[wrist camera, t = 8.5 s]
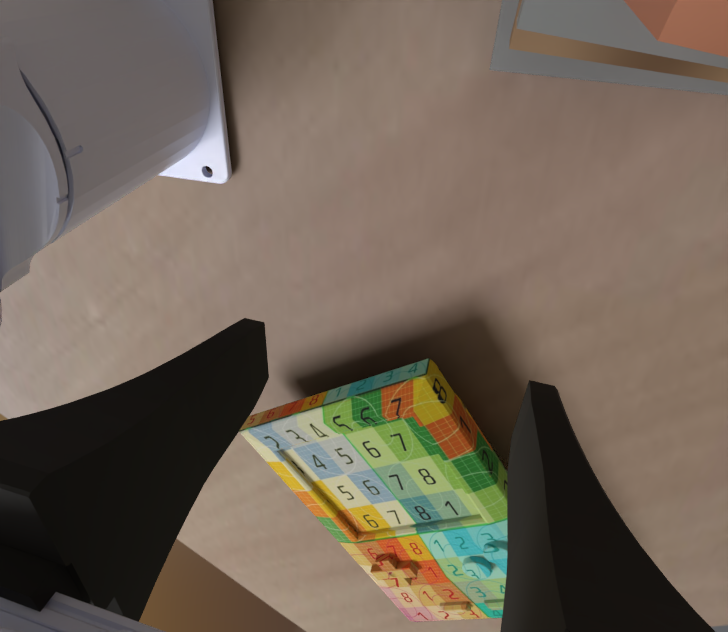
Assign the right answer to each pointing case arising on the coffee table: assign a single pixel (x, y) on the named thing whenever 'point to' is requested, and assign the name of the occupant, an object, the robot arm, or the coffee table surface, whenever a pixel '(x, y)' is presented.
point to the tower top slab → (604, 27)
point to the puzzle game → (399, 487)
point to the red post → (686, 22)
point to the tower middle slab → (609, 54)
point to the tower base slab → (583, 64)
